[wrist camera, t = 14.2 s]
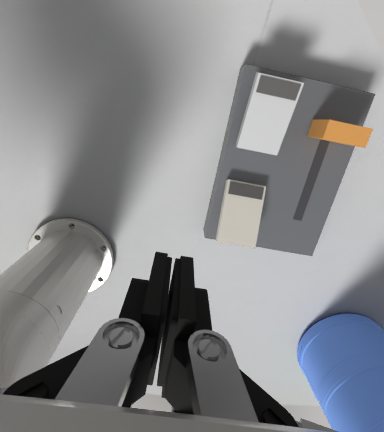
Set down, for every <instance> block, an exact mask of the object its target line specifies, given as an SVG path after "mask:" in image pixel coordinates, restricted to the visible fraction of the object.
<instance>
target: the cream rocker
mask: <svg viewBox="0 0 384 432" xmlns="http://www.w3.org/2000/svg"><path fill="white" fill-rule="evenodd" d="M265 191H266V186H261V185H256V184H251V183H246V182H241V181H235V180H230V179H228V180H226V184H225V190H224V195H223V201H222V207H221V212H220V218H219V224H218V229H217V235H216V241H217V242H221V243H227V244H233V245H239V246H245V247H250V248H256V242H257V236H258V231H259V225H260V219H261V213H262V208H263V202H264V196H265Z"/></svg>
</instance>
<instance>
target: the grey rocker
mask: <svg viewBox="0 0 384 432" xmlns="http://www.w3.org/2000/svg"><path fill="white" fill-rule="evenodd" d="M303 85H304V83H302V82H298V81H294V80H290V79H285V78H281V77H277V76H272V75H268V74H263V73H259V72H256V75H255V78H254V82H253V85H252V89H251V92H250V96H249V99H248V103H247V106H246V110H245V113H244V117H243V120H242V124H241V127H240V131H239V134H238V138H237V141H236V147H237V148H242V149H247V150H252V151H257V152H262V153H267V154H271V155H276V156H277V154H278V152H279V149H280V146H281V144H282V141H283V138H284V136H285V133H286V130H287V128H288V125H289V122H290V120H291V117H292V114H293V112H294V109H295V106H296V104H297V101H298V98H299V96H300V93H301V91H302V88H303Z"/></svg>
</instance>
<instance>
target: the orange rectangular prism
mask: <svg viewBox="0 0 384 432" xmlns="http://www.w3.org/2000/svg"><path fill="white" fill-rule="evenodd" d="M372 130H373V129H371V128H366V127H361V126H357V125H352V124H348V123H343V122H339V121H334V120H312V123H311V126H310V129H309V132H308V135H307V137H312V138H317V139H321V140H326V141H331V142H336V143H340V144H345V145H352V146H358V147H364V148H365V147H366V145H367V142H368V140H369V137H370V135H371V132H372Z"/></svg>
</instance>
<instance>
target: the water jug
mask: <svg viewBox="0 0 384 432" xmlns="http://www.w3.org/2000/svg"><path fill="white" fill-rule="evenodd" d="M297 357H298V362H299V365H300V367H301V369H302V371H303V373H304V375H305V376H306V378H307V380H308V382H309V384H310V386H311V389H312V391H313V393H314V395H315V397H316V399H317V400H318V401H319V403H320V405H321V407H322V409H323V411H324V413H325V415H326V417H327V419H328V422H329V424H330V426H331V428H332V430H335V431H338V432H384V330H383V329H382V328H381V327H380V326H379V325H378V324H377V323H376V322H375V321H373V320H372V319H370V318H368V317H365V316H362V315H358V314H338V315H333V316H330V317H327V318H325V319H323V320H321V321H319V322H317V323H316V324H314V325H313V326H312V327H311V328H309V329H308V330H307V332H306V333H305V334H304V335H303V337H302V339H301V340H300V343H299V346H298V351H297Z"/></svg>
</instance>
